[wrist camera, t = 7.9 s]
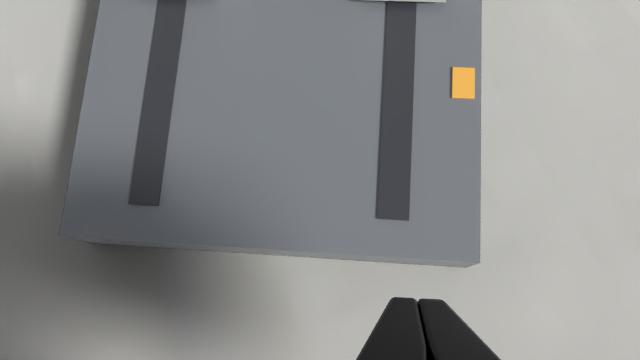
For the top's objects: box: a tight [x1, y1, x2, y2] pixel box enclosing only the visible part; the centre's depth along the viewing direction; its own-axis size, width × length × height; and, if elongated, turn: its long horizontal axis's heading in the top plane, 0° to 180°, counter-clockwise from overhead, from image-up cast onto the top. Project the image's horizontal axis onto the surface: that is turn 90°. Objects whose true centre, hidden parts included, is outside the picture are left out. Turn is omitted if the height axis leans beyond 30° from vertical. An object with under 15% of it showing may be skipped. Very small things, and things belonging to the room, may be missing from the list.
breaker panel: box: [59, 0, 482, 268], centre depth 22 cm, size 13×15×3 cm
